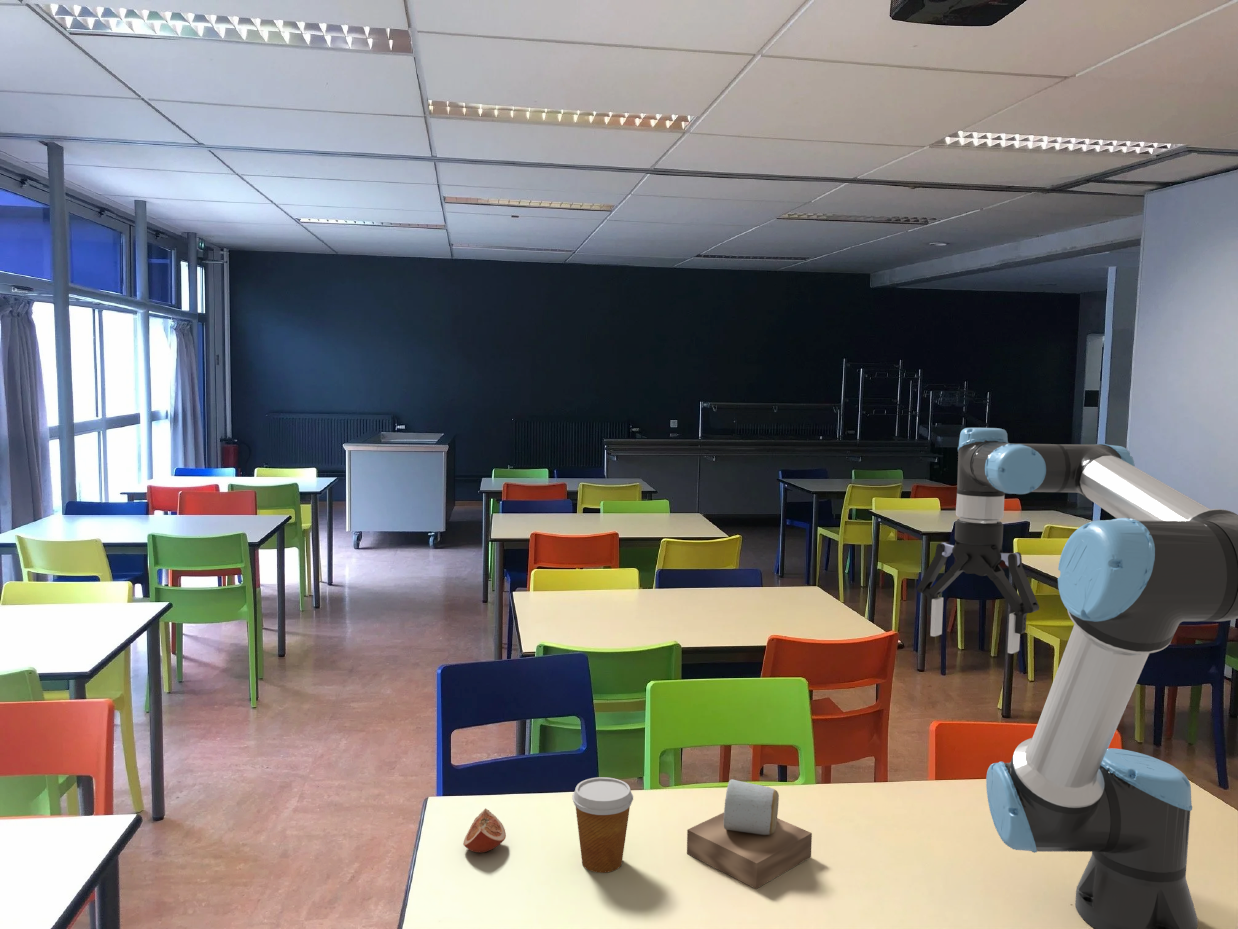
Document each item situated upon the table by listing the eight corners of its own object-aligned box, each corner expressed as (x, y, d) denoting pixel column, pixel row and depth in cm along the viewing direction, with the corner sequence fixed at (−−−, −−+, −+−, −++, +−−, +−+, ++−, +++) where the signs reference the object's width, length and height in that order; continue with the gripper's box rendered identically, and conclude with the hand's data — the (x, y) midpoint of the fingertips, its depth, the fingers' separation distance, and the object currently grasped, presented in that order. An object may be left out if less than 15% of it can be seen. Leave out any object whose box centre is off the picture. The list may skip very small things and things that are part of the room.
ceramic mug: (775, 845, 143) (776, 796, 143) (722, 838, 145) (723, 790, 144) (779, 815, 153) (781, 770, 153) (730, 809, 155) (731, 764, 155)
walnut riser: (811, 857, 147) (811, 833, 147) (756, 889, 138) (756, 863, 138) (742, 826, 158) (743, 803, 157) (686, 853, 148) (687, 829, 148)
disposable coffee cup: (579, 882, 139) (580, 805, 138) (565, 851, 148) (566, 779, 147) (639, 874, 142) (641, 799, 141) (623, 844, 151) (624, 773, 150)
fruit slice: (467, 836, 153) (467, 807, 153) (508, 835, 153) (508, 806, 153) (460, 862, 145) (460, 831, 144) (503, 861, 145) (503, 831, 145)
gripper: (1065, 526, 149) (1057, 655, 151) (921, 509, 167) (917, 625, 169) (1046, 530, 144) (1038, 664, 146) (900, 513, 162) (895, 632, 164)
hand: (973, 643), depth 157 cm, fingers open, 13 cm apart
